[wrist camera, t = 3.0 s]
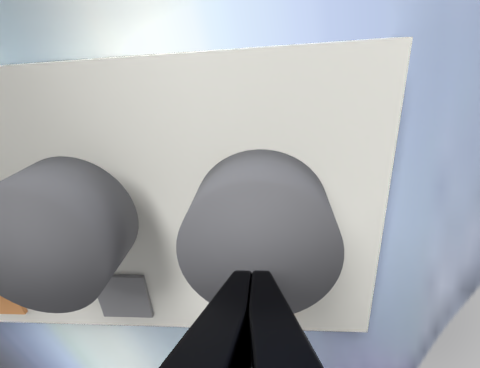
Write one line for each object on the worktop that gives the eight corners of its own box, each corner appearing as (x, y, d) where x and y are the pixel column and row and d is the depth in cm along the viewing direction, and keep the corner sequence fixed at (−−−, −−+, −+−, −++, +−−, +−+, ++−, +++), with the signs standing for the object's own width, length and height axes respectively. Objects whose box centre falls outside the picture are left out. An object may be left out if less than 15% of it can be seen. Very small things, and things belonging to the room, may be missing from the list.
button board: (355, 298, 16) (368, 336, 14) (-33, 291, 18) (-71, 323, 16) (388, 37, 11) (416, 36, 9) (-157, 76, 13) (-235, 82, 11)
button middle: (149, 263, 12) (121, 314, 9) (42, 263, 12) (-8, 311, 10) (123, 154, 10) (81, 186, 8) (-2, 158, 10) (-75, 190, 8)
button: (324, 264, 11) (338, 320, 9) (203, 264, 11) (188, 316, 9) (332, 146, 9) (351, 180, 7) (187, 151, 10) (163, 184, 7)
